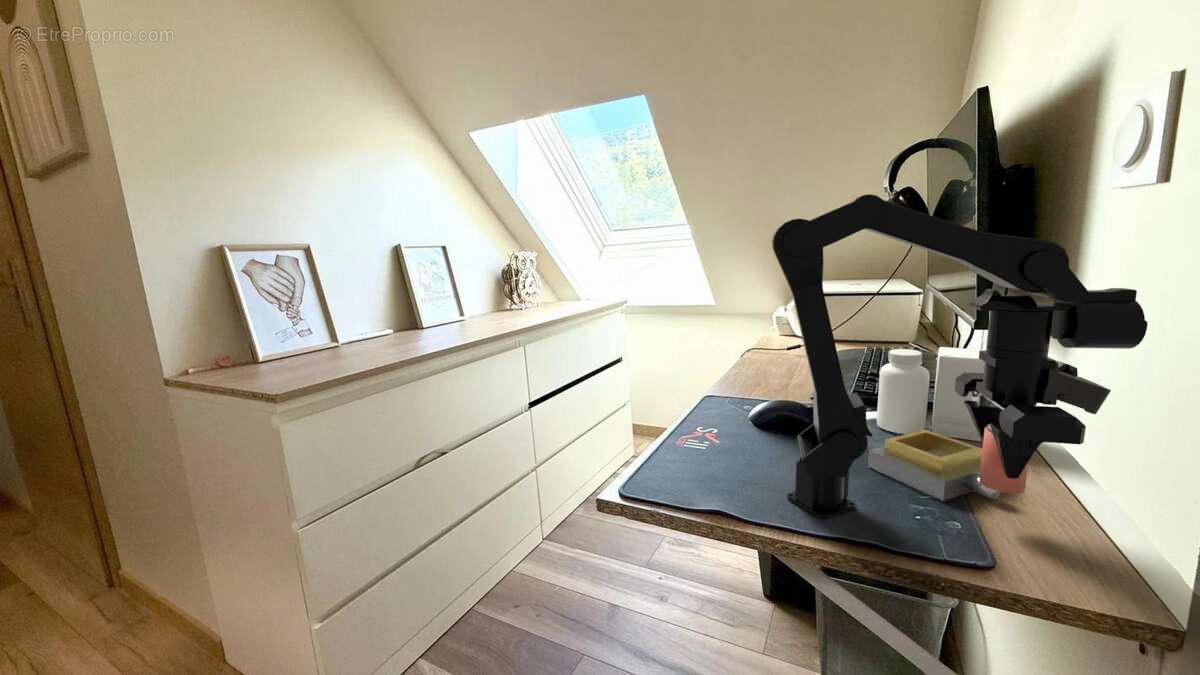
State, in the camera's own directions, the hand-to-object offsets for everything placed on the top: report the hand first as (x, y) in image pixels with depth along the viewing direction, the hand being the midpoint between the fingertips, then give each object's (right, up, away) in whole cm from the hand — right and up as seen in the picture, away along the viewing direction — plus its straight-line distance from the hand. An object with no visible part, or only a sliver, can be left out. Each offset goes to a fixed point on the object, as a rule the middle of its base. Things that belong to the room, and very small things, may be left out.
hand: (1003, 469), depth 62 cm
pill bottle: (+7, -1, +33) cm, 33 cm away
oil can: (0, -2, 0) cm, 2 cm away
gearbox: (+1, -5, +13) cm, 14 cm away
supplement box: (+16, -1, +30) cm, 34 cm away
